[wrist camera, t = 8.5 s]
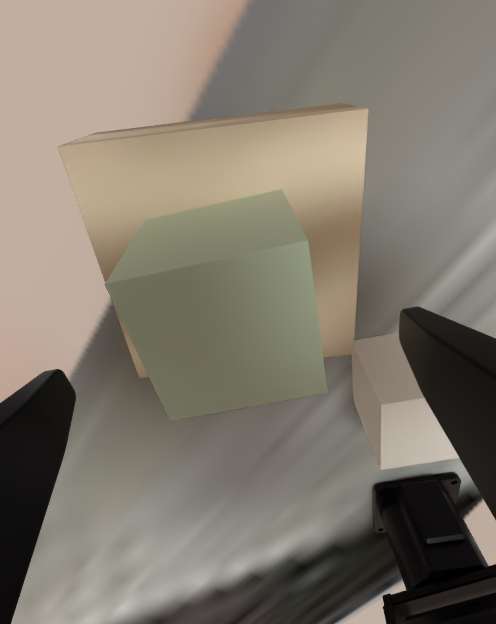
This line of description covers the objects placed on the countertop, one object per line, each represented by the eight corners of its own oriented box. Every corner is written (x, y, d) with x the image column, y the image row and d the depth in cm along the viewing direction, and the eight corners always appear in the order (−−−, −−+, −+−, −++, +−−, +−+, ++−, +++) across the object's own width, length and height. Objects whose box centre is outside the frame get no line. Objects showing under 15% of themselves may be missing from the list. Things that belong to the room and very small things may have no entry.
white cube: (431, 387, 23) (476, 455, 19) (353, 400, 24) (380, 469, 19) (438, 324, 21) (492, 386, 16) (350, 340, 21) (381, 404, 17)
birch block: (332, 309, 20) (353, 354, 17) (154, 329, 20) (139, 378, 17) (336, 102, 15) (368, 108, 12) (95, 132, 15) (57, 146, 12)
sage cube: (300, 307, 15) (327, 392, 11) (185, 331, 16) (169, 421, 11) (281, 188, 13) (308, 240, 9) (144, 219, 13) (105, 284, 9)
